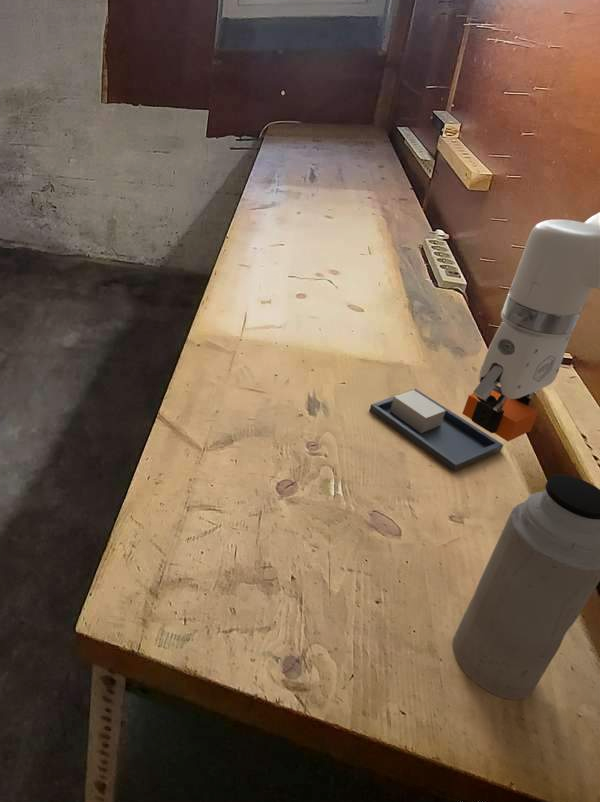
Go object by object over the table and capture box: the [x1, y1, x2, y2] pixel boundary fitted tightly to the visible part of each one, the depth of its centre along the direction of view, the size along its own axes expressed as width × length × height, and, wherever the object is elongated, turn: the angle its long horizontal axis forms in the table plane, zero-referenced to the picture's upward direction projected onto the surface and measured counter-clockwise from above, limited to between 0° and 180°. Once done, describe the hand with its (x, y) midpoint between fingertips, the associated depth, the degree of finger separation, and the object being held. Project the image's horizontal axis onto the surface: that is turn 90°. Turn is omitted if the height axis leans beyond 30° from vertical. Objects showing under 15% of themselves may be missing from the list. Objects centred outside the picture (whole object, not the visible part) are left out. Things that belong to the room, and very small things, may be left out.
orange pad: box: [462, 390, 540, 442], centre depth 81 cm, size 5×6×4 cm
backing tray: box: [369, 388, 504, 473], centre depth 101 cm, size 12×17×2 cm
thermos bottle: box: [451, 474, 600, 701], centre depth 60 cm, size 8×8×28 cm
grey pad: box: [390, 389, 446, 433], centre depth 103 cm, size 5×6×4 cm
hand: (496, 419), depth 82 cm, fingers closed on orange pad, 5 cm apart
